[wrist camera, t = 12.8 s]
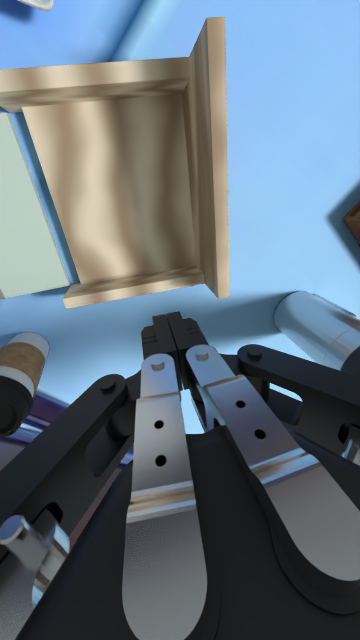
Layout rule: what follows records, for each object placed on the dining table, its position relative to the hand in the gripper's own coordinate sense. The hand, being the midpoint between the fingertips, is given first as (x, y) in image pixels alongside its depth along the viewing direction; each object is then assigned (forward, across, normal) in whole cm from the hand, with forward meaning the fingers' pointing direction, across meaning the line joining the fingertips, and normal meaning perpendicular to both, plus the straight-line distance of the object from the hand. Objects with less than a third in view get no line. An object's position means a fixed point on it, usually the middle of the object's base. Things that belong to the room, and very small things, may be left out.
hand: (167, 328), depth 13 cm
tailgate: (+27, +12, -6) cm, 30 cm away
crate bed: (+27, +2, -6) cm, 28 cm away
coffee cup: (+27, +22, +14) cm, 38 cm away
